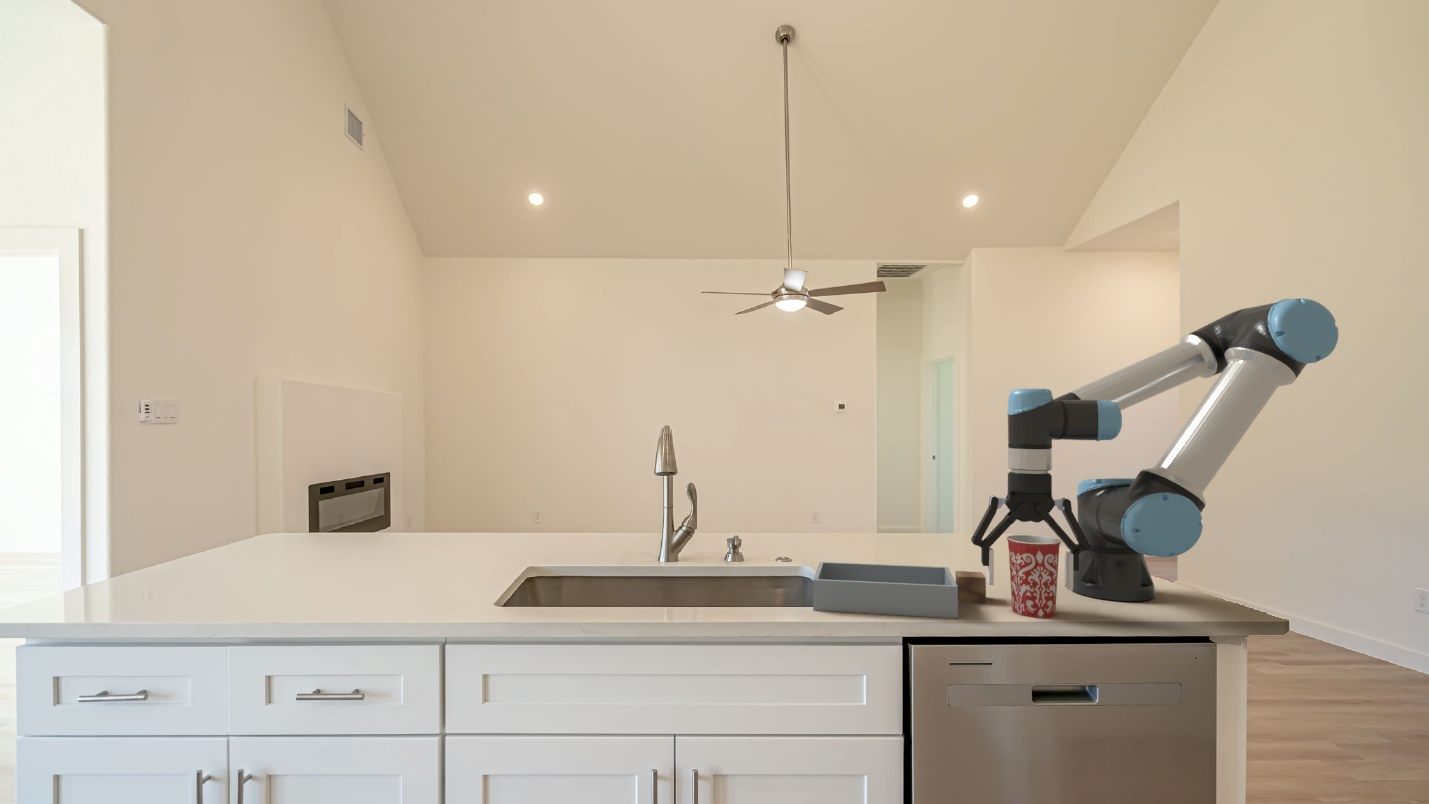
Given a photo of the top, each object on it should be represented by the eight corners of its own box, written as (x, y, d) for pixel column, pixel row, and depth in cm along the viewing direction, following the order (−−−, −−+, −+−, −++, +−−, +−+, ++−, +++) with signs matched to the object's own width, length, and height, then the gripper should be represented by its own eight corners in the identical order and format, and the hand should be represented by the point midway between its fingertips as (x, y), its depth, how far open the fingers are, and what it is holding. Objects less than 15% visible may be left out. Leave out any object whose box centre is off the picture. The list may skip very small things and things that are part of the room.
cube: (982, 597, 141) (981, 572, 141) (985, 603, 136) (985, 577, 136) (955, 596, 142) (955, 570, 142) (958, 602, 137) (958, 576, 137)
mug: (1069, 620, 125) (1068, 543, 125) (1015, 618, 126) (1014, 542, 126) (1045, 601, 137) (1044, 531, 138) (996, 600, 138) (996, 530, 139)
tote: (948, 595, 142) (948, 567, 142) (957, 618, 126) (957, 586, 126) (820, 588, 148) (819, 561, 148) (813, 610, 132) (813, 579, 132)
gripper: (1096, 471, 133) (1096, 585, 133) (956, 468, 138) (956, 577, 138) (1109, 475, 126) (1109, 595, 125) (961, 471, 131) (961, 586, 131)
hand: (1029, 586), depth 132 cm, fingers open, 13 cm apart
